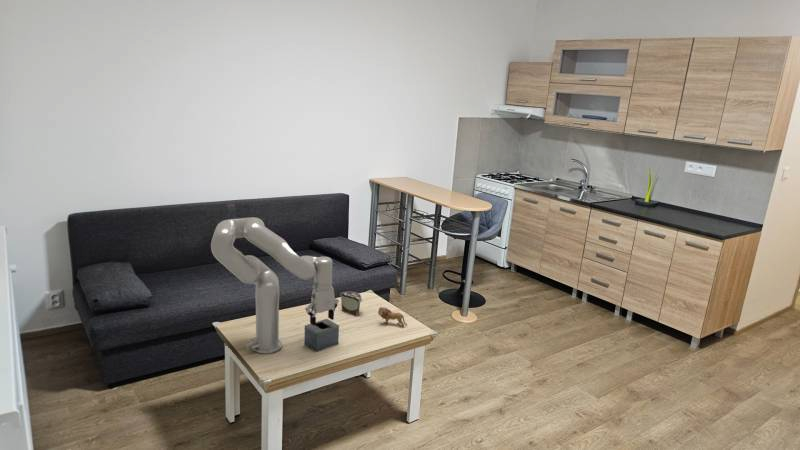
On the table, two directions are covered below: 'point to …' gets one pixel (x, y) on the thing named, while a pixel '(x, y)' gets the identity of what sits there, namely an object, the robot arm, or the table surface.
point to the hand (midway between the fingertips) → (322, 321)
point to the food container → (350, 302)
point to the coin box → (321, 335)
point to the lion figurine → (391, 316)
